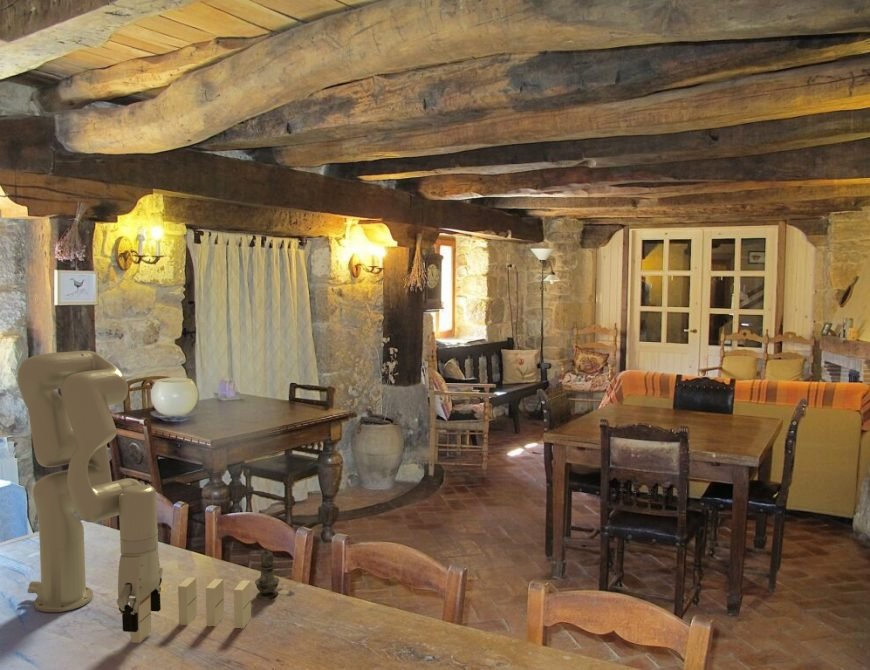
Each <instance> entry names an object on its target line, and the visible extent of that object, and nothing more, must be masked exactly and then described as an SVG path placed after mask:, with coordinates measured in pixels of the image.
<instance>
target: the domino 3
mask: <svg viewBox="0 0 870 670" xmlns="http://www.w3.org/2000/svg"><path fill="white" fill-rule="evenodd" d="M224 588H225V587H224V579H222V578H214V579H213V580H212V581H211V582H210V583H209V584H208V585H207V586H206V587H205V600H206V602H205V607H206V609H205V611H206V612H205V614H206V627H207V626H214V627H213V628H216V627H217V626H218V624H219V623H220V622H221V621H222V620H223V619H224V617H225V602H224V601H225V600H224V596H225V595H224V592H225V591H224ZM222 618H223V619H222ZM221 619H222V620H221ZM220 620H221V621H220ZM219 621H220V622H219ZM216 625H217V626H216ZM215 626H216V627H215Z"/></svg>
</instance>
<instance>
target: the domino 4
mask: <svg viewBox="0 0 870 670" xmlns="http://www.w3.org/2000/svg"><path fill="white" fill-rule="evenodd" d="M251 586H252V584H251V580H244V579H243V580H241V581H240V582H239V583H238V585H237V586H236V587H235V588H234V589H233V615H234V616H233V619H234V620H233V621H234V624H233V625H234V629H235V628H241V629H240V630H243V629H245V627H246V626H247V625H248V623H249V622H250V621H251V620H252V592H251V591H252V587H251ZM249 620H250V621H249ZM246 624H247V625H246ZM245 625H246V626H245ZM242 628H243V629H242Z"/></svg>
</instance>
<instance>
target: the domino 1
mask: <svg viewBox="0 0 870 670" xmlns="http://www.w3.org/2000/svg"><path fill="white" fill-rule="evenodd" d="M132 605H133V602H129V606H130V607H131V608H132ZM136 613H138V631H137V632H130V643H134V644H140V643H142V642H143V641H144V640H145V639H146V638H147V637H148V636H149V635H151V633H152V611H151V597H150V594H149V595H147V596H146V597H145V598H144V599H142V600H141V601H139V602H138V606H137V609H136Z"/></svg>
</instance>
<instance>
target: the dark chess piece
mask: <svg viewBox="0 0 870 670" xmlns="http://www.w3.org/2000/svg"><path fill="white" fill-rule="evenodd" d="M260 554H261V556H260V565H259V568H260V577H258V578H257V579H256V580H255V581H254V584H255V586H256V588H257V590H258V592H257V594H256V599H258V600H261V601H262V600H263V601H269V600H273V599H275V598H277V597H278V596H279V592H278V591H277V588H278V586H279V583H280V578H278V577H276V576H275V574H274V568H275V564H274V554H273V552H272V551H269V548H268V547H267V548H265V550H264V551H263V552H261V553H260Z"/></svg>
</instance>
